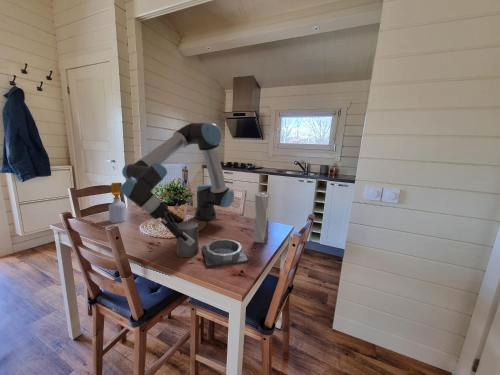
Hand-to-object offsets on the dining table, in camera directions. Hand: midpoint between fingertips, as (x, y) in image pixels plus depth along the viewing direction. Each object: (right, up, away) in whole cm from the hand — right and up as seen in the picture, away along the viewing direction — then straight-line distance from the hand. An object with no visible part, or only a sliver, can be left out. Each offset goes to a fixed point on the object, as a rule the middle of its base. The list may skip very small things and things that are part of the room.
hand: (191, 237), depth 98 cm
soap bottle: (-56, +2, +36) cm, 66 cm away
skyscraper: (+33, -6, +17) cm, 37 cm away
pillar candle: (-2, -8, +1) cm, 8 cm away
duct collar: (+15, -8, +1) cm, 17 cm away
